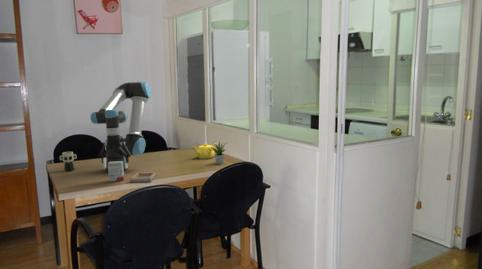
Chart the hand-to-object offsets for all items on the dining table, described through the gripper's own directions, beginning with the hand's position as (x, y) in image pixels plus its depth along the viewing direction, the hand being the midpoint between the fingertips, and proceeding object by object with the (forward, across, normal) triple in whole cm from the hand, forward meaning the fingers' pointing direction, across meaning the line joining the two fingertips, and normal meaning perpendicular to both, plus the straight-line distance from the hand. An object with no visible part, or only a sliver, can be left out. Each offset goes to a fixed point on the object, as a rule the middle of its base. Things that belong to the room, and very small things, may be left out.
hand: (115, 168), depth 239 cm
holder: (+8, +17, +2) cm, 19 cm away
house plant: (+7, +61, +45) cm, 76 cm away
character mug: (+8, -45, +29) cm, 54 cm away
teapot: (+7, +48, +64) cm, 80 cm away
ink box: (+8, 0, +1) cm, 8 cm away
